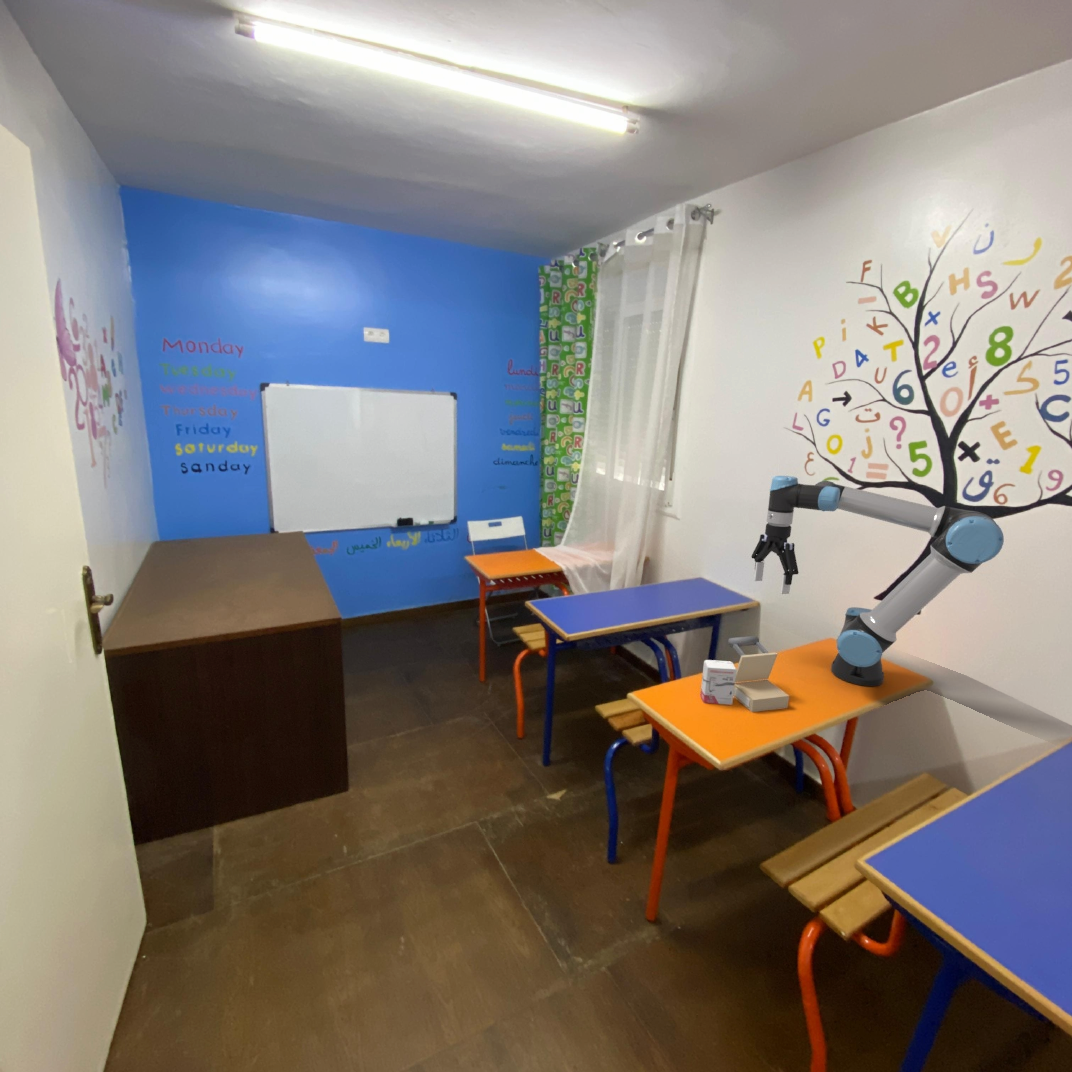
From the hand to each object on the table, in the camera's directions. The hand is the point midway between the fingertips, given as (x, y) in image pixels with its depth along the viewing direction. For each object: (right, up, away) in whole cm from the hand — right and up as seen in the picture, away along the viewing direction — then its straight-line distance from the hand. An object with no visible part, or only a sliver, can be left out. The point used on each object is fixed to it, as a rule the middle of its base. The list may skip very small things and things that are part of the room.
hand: (770, 586), depth 177 cm
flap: (-11, -23, -15) cm, 30 cm away
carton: (-11, -33, -16) cm, 38 cm away
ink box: (-24, -33, -16) cm, 43 cm away
